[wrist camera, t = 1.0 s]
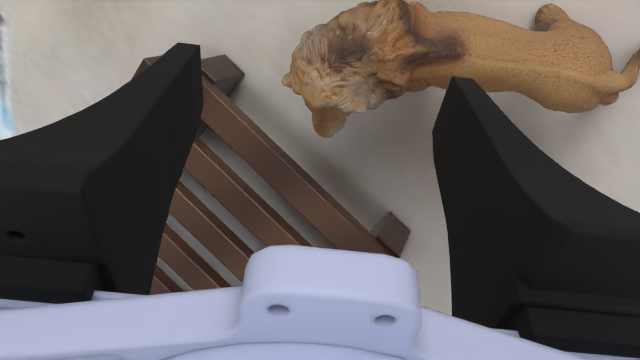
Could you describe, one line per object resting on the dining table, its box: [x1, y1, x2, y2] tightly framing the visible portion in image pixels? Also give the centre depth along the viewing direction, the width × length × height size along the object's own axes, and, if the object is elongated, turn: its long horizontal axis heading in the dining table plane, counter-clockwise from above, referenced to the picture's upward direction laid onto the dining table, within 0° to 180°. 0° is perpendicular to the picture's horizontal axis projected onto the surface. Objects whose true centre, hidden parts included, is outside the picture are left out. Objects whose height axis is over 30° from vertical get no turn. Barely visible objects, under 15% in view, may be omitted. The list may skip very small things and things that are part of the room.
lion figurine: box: [282, 0, 640, 138], centre depth 20 cm, size 15×5×9 cm, turn 96°
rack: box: [132, 55, 410, 295], centre depth 30 cm, size 16×20×6 cm
